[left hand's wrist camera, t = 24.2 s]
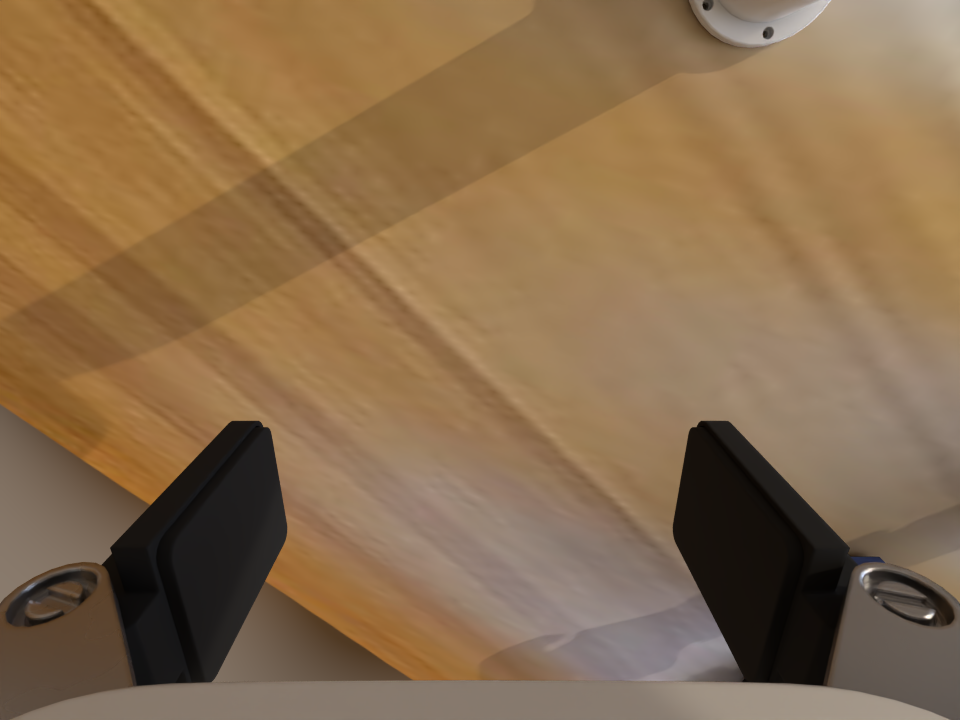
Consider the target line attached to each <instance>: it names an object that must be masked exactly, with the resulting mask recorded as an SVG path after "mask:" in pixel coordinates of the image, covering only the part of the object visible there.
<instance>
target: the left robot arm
mask: <svg viewBox="0 0 960 720" xmlns="http://www.w3.org/2000/svg"><path fill="white" fill-rule="evenodd" d="M830 1H831V0H689V2H690V5H691V8H692V10H693V12H694V14H695V15H696V17H697V19H698V20H699V22H700V23H701V25H702V26H703V27H704V28H705V29H706V30H707V31H708V32H709V33H710V34H711V35H713V36H714V37H716V38H718V39H719V40H721V41H722V42H724V43H727V44H730V45H733V46H736V47H747V48H754V47H762V46H767V45H770V44H773V43H776V42H779V41H781V40H784V39H786V38H788V37H790V36H792V35H794V34H796V33H797V32H799V31H800V30H802V29H803V28H805V27H806V26H808V25H809V24H810V23H811V22H812V21H813V20H814V19H815V18H816V17H817V16H818V15H819V14H820V13H821V12H822V11H823V10H824V8H825V7H826V6H827V5H828V3H829V2H830ZM702 4H705V5H706V10H704V9H703V6H702ZM763 32H764V33H765V37H764V38H763ZM286 536H287V522H286V516H285V510H284V504H283V499H282V493H281V487H280V481H279V475H278V469H277V464H276V458H275V452H274V446H273V440H272V435H271V431H270V429H269V428H268V427H263V425H262V423H261V422H260V421H231V422H230V423H229V424H228V425H227V426H226V427H225V428H224V429H223V430H222V431H221V432H220V433H219V434H218V435H217V436H216V437H215V438H214V440H213V441H212V442H211V443H210V444H209V445H208V446H207V447H206V448H205V449H204V450H203V451H202V452H201V453H200V454H199V455H198V456H197V457H196V458H195V459H194V460H193V462H192V463H191V464H190V465H189V466H188V467H187V468H186V469H185V470H184V471H183V472H182V473H181V474H180V475H179V476H178V477H177V478H176V479H175V480H174V481H173V482H172V484H171V485H170V486H169V487H168V488H167V489H166V490H165V491H164V492H163V493H162V494H161V495H160V496H159V497H158V498H157V499H156V500H155V501H154V502H153V503H152V505H151V506H150V507H149V508H148V509H147V510H146V511H145V512H144V513H143V514H142V515H141V516H140V517H139V518H138V519H137V520H136V521H135V522H134V523H133V524H132V525H131V527H130V528H129V529H128V530H127V531H126V532H125V533H124V534H123V535H122V536H121V537H120V538H119V539H118V540H117V541H116V542H115V543H114V544H113V545H112V546H111V548H110V549H111V552H112V554H111V556H110V557H109V558H108V559H107V560H106V561H105V562H104V563H103V564H102V565H99V564H97V563H90V562H80V563H73V564H67V565H64V566H61V567H58V568H54V569H51V570H49V571H47V572H45V573H42V574H40V575H38V576H36V577H34V578H32V579H30V580H29V581H27V582H26V583H24V584H22V585H21V586H19V587H17V588H16V589H15V590H14V591H13V592H12V593H10V594H9V595H8V596H7V597H6V598H4V600H3V601H2V602H1V603H0V720H960V603H959V602H958V601H957V600H956V598H954V597H953V596H952V595H951V594H950V593H948V592H947V591H946V590H945V589H944V588H943V587H941V586H939V585H938V584H936V583H934V582H933V581H931V580H930V579H928V578H926V577H924V576H922V575H920V574H918V573H915V572H913V571H911V570H909V569H906V568H902V567H899V566H896V565H893V564H887V563H880V562H870V563H863V564H861V565H858V564H857V563H856V562H855V561H854V560H853V559H852V558H851V557H850V555H849V554H848V552H849V549H850V547H849V546H848V545H847V544H846V543H845V542H844V541H843V540H842V539H841V538H840V537H839V536H838V535H837V534H836V533H835V532H834V531H833V530H832V529H831V528H830V527H829V525H828V524H827V523H826V522H825V521H824V520H823V519H822V518H821V517H820V516H819V515H818V514H817V513H816V512H815V511H814V510H813V509H812V508H811V507H810V506H809V505H808V503H807V502H806V501H805V500H804V499H803V498H802V497H801V496H800V495H799V494H798V493H797V492H796V491H795V490H794V489H793V488H792V487H791V486H790V485H789V484H788V482H787V481H786V480H785V479H784V478H783V477H782V476H781V475H780V474H779V473H778V472H777V471H776V470H775V469H774V468H773V467H772V466H771V465H770V464H769V463H768V462H767V460H766V459H765V458H764V457H763V456H762V455H761V454H760V453H759V452H758V451H757V450H756V449H755V448H754V447H753V446H752V445H751V444H750V443H749V442H748V441H747V440H746V438H745V437H744V436H743V435H742V434H741V433H740V432H739V431H738V430H737V429H736V428H735V427H734V426H733V425H732V424H731V423H730V422H729V421H700V422H699V423H698V425H697V427H692V428H691V429H690V431H689V435H688V440H687V446H686V452H685V458H684V464H683V469H682V475H681V481H680V487H679V493H678V499H677V504H676V510H675V516H674V522H673V536H674V540H675V542H676V545H677V547H678V549H679V550H680V552H681V554H682V556H683V558H684V560H685V562H686V564H687V566H688V568H689V570H690V572H691V574H692V576H693V578H694V580H695V582H696V584H697V586H698V588H699V590H700V592H701V594H702V595H703V597H704V599H705V601H706V603H707V605H708V607H709V609H710V611H711V613H712V615H713V617H714V619H715V621H716V623H717V625H718V627H719V629H720V631H721V633H722V635H723V637H724V639H725V640H726V642H727V644H728V646H729V648H730V650H731V652H732V654H733V656H734V658H735V660H736V662H737V664H738V666H739V668H740V670H741V672H742V674H743V676H744V677H745V679H746V680H747V681H748V682H684V681H510V680H450V681H277V682H212V681H213V680H214V679H215V677H216V675H217V674H218V672H219V670H220V668H221V666H222V664H223V662H224V660H225V658H226V656H227V654H228V652H229V650H230V648H231V646H232V644H233V642H234V640H235V638H236V637H237V635H238V633H239V631H240V629H241V627H242V625H243V623H244V621H245V619H246V617H247V615H248V613H249V611H250V609H251V607H252V605H253V603H254V601H255V599H256V597H257V595H258V594H259V592H260V589H261V588H262V586H263V584H264V582H265V580H266V578H267V576H268V574H269V572H270V570H271V568H272V566H273V564H274V562H275V560H276V558H277V556H278V554H279V552H280V550H281V549H282V547H283V545H284V542H285V540H286Z"/></svg>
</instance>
